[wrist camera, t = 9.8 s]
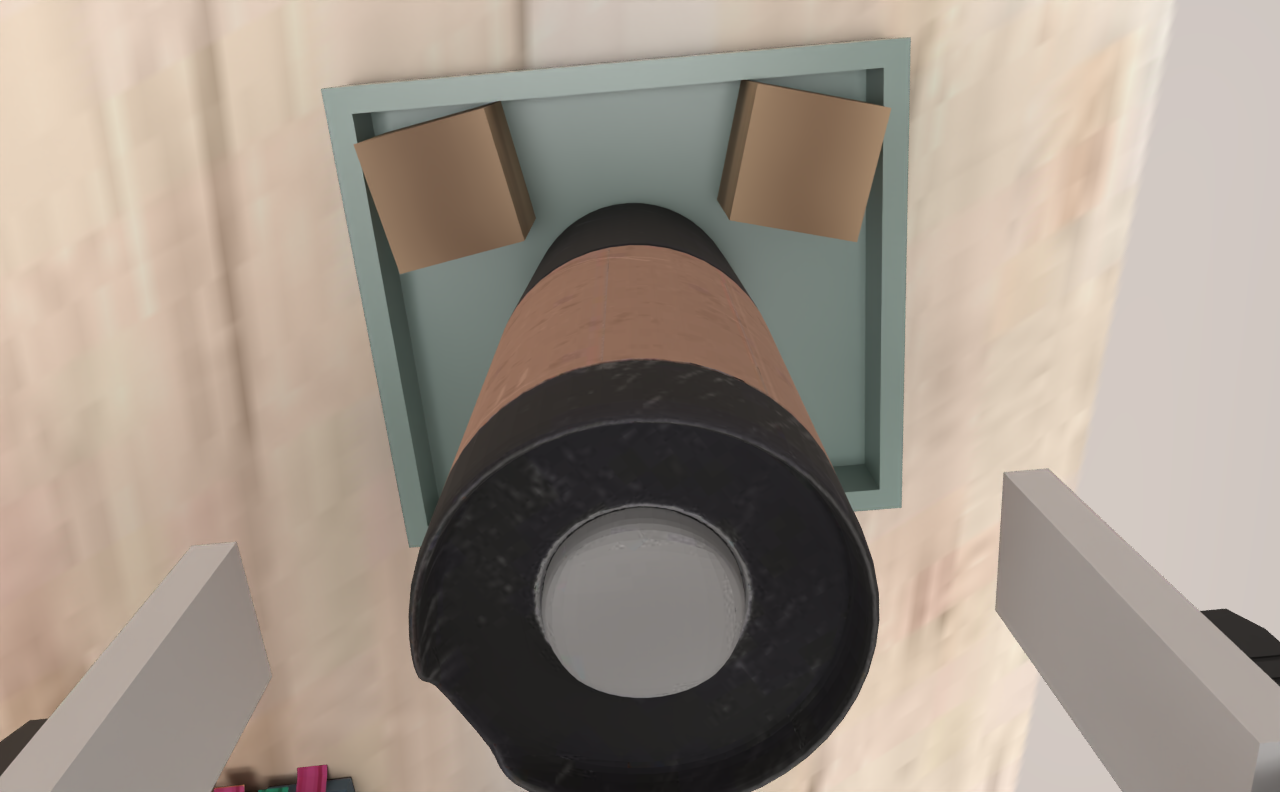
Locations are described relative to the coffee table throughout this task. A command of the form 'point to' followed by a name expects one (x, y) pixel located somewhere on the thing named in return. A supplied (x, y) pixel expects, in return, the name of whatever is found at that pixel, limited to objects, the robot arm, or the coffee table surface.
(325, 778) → the decorative book
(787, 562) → the travel mug
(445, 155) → the walnut block
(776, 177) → the walnut block
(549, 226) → the tray
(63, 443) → the coffee table surface
